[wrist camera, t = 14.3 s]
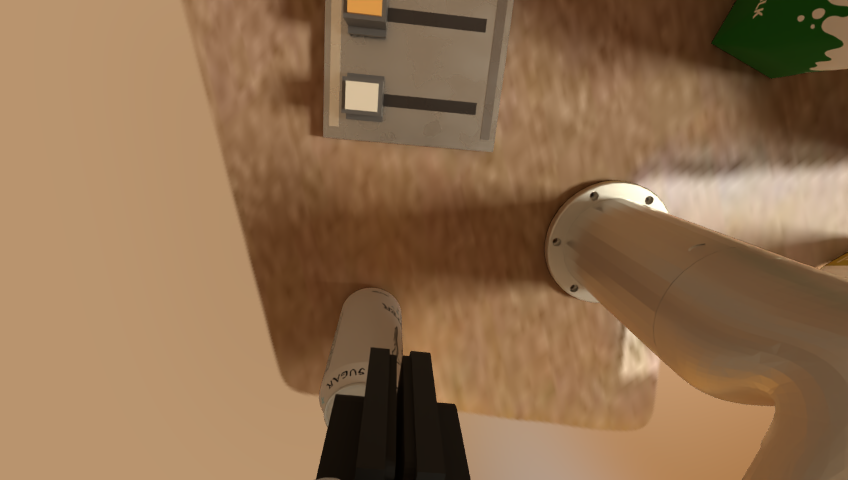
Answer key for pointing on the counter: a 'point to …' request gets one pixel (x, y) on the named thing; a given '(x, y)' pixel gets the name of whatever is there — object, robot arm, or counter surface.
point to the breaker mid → (366, 17)
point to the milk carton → (787, 35)
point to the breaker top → (363, 97)
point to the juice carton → (838, 266)
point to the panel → (423, 72)
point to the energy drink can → (360, 343)
